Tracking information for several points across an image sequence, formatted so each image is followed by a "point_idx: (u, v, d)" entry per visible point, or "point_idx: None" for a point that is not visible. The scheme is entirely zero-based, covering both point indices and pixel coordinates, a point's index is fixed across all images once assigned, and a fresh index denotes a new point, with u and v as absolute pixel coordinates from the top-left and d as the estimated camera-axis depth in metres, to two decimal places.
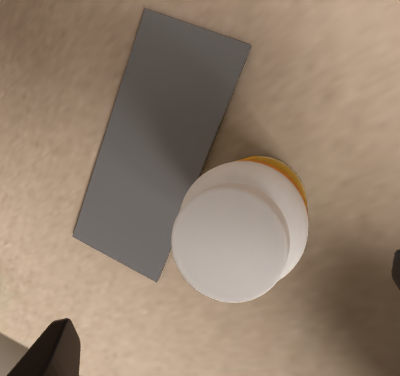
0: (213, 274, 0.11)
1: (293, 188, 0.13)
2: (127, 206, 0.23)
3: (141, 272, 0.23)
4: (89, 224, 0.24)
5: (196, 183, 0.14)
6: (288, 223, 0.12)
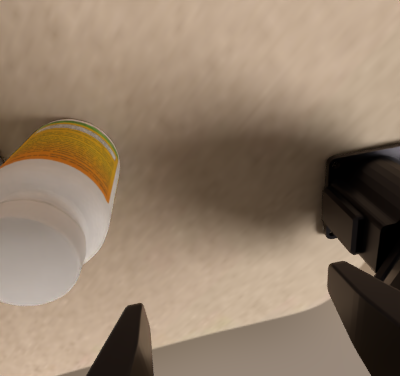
0: (32, 288, 0.12)
1: (54, 167, 0.13)
2: None
3: None
4: None
5: None
6: (69, 200, 0.13)
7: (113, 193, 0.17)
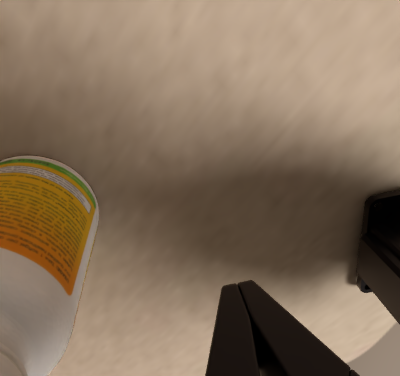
0: None
1: None
2: None
3: None
4: None
5: None
6: (0, 310, 0.08)
7: (83, 268, 0.12)
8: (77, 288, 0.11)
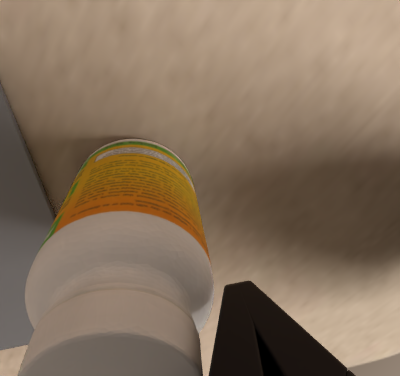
0: None
1: (149, 226, 0.09)
2: (2, 292, 0.17)
3: None
4: None
5: (26, 299, 0.09)
6: (172, 276, 0.09)
7: None
8: None
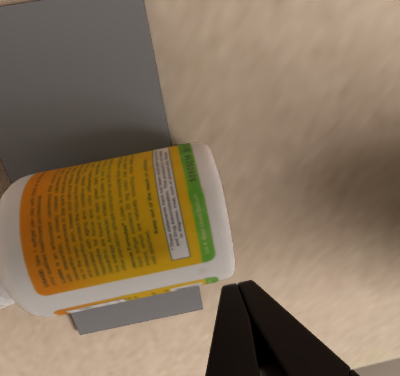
0: None
1: (3, 214, 0.11)
2: None
3: (181, 312, 0.19)
4: (89, 313, 0.18)
5: None
6: None
7: (99, 291, 0.11)
8: (69, 297, 0.11)
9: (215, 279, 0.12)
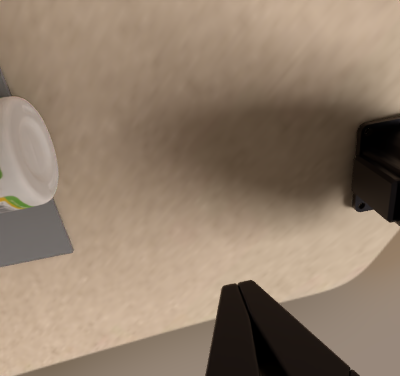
0: None
1: None
2: None
3: (53, 255, 0.22)
4: None
5: None
6: None
7: None
8: None
9: (16, 199, 0.15)
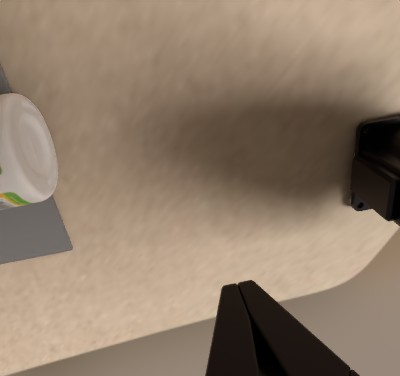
0: None
1: None
2: None
3: (53, 252, 0.23)
4: None
5: None
6: None
7: None
8: None
9: (15, 195, 0.15)
